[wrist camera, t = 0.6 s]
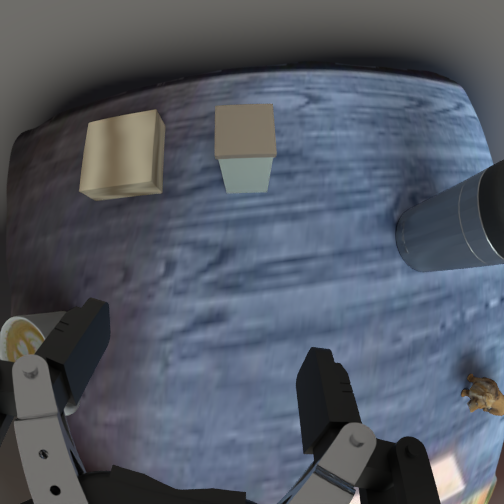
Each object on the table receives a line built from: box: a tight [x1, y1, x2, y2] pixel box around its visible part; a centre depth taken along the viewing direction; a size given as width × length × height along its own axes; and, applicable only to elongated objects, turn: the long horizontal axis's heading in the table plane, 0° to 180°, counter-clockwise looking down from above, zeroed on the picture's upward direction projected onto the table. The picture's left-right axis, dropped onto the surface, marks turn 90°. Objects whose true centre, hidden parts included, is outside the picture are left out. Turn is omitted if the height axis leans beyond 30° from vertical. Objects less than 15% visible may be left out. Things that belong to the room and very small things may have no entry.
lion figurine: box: [461, 374, 504, 416], centre depth 30 cm, size 15×5×9 cm, turn 64°
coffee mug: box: [0, 311, 80, 415], centre depth 30 cm, size 13×10×10 cm
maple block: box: [79, 110, 165, 201], centre depth 36 cm, size 10×10×5 cm
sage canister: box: [215, 104, 277, 193], centre depth 32 cm, size 5×5×12 cm
